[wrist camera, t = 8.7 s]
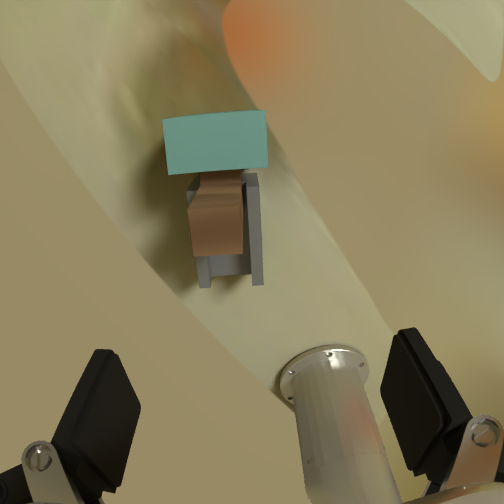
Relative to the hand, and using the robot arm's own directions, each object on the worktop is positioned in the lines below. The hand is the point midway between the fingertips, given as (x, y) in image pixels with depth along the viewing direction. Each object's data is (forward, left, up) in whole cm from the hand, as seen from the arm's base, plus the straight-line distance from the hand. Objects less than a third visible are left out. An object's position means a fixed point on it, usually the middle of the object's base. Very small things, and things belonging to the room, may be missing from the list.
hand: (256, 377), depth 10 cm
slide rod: (+3, +2, -19) cm, 20 cm away
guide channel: (-3, +2, -23) cm, 23 cm away
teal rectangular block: (+6, +2, -23) cm, 24 cm away
